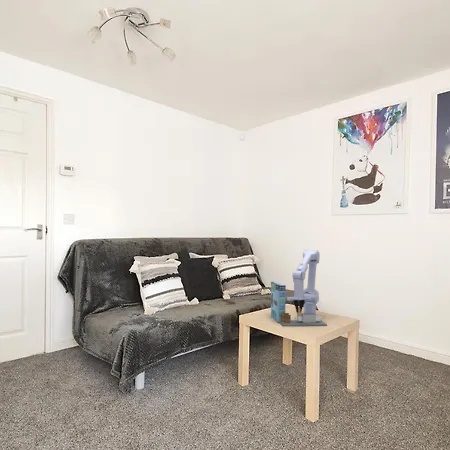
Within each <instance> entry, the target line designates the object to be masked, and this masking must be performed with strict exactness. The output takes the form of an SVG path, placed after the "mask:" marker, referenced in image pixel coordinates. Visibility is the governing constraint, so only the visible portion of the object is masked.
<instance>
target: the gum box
mask: <svg viewBox="0 0 450 450" xmlns="http://www.w3.org/2000/svg"><path fill="white" fill-rule="evenodd" d="M286 286H287V285H286V284H284V283H281V282H278V281H270V316H271V318H273V319H274V320H275V321H276V322H277V323H278V324H280V321H281V313H286V292H287V291H286V289H287V288H286Z"/></svg>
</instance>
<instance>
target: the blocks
mask: <svg viewBox="0 0 450 450" xmlns="http://www.w3.org/2000/svg"><path fill="white" fill-rule="evenodd" d="M296 313H297V312H296ZM296 320H298V321H302V315H300V308H299V306H298V313H297V315H296ZM321 320H322V316H321V315H320V314H316V321H321Z"/></svg>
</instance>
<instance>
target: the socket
mask: <svg viewBox="0 0 450 450" xmlns="http://www.w3.org/2000/svg"><path fill="white" fill-rule="evenodd" d="M291 318H292V317H291V314H290V313H289V312H285V313H281V322H282V323H291V320H292V319H291Z"/></svg>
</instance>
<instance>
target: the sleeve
mask: <svg viewBox="0 0 450 450" xmlns="http://www.w3.org/2000/svg"><path fill="white" fill-rule="evenodd" d="M300 315H302V321H301V322H302V323H316V315H317V314H316V315H315V314H314V313H304V312H301V313H300Z"/></svg>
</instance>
